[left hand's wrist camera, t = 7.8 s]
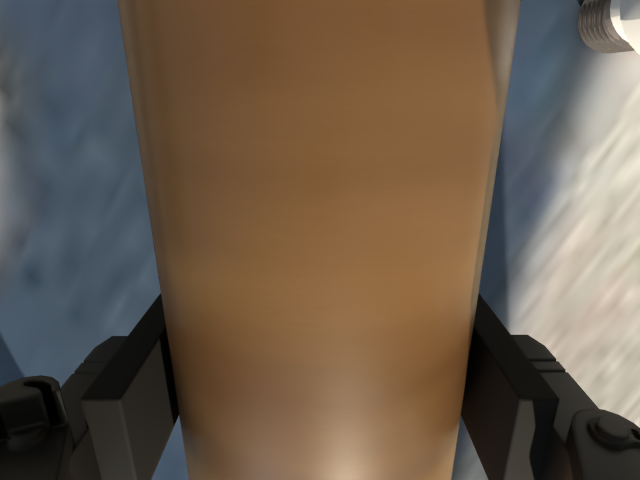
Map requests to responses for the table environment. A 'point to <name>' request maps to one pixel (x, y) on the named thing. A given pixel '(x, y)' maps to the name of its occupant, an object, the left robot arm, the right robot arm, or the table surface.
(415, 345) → the rod
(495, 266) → the table surface
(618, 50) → the light bulb
